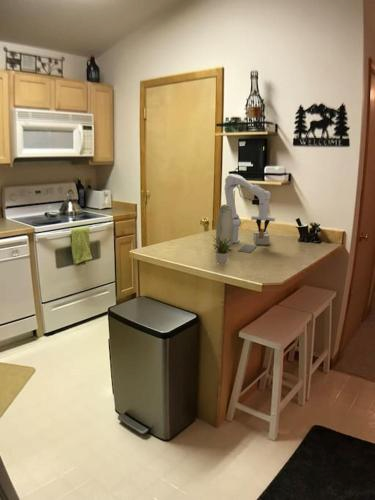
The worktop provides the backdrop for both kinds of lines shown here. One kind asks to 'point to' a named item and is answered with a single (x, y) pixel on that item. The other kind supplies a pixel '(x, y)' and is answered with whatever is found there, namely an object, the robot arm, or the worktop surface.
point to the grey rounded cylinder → (225, 225)
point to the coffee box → (261, 241)
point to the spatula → (261, 233)
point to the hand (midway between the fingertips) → (262, 231)
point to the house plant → (221, 250)
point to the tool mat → (247, 248)
